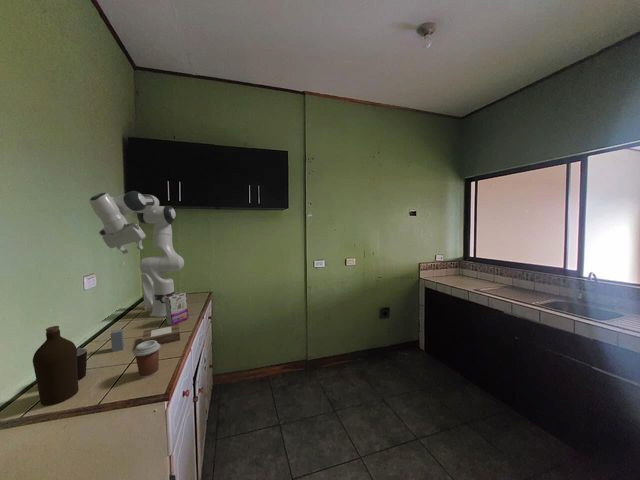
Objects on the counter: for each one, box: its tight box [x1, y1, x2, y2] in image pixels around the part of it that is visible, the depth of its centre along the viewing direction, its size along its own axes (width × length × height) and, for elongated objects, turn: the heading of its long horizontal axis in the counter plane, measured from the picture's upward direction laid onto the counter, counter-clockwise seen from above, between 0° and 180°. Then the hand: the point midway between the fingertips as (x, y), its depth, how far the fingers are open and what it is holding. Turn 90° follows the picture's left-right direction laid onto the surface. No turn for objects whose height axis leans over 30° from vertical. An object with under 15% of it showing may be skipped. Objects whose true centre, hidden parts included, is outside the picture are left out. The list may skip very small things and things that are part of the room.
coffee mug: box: [77, 347, 88, 381], centre depth 100 cm, size 12×9×10 cm
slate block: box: [110, 328, 125, 353], centre depth 123 cm, size 4×4×9 cm
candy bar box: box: [165, 292, 189, 326], centre depth 156 cm, size 11×5×16 cm, turn 155°
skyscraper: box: [140, 270, 155, 311], centre depth 183 cm, size 8×8×28 cm
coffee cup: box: [132, 340, 161, 379], centre depth 102 cm, size 9×9×12 cm
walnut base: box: [141, 323, 181, 346], centre depth 132 cm, size 14×16×4 cm
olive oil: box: [32, 325, 80, 407], centre depth 89 cm, size 11×11×25 cm
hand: (133, 251), depth 128 cm, fingers open, 8 cm apart
